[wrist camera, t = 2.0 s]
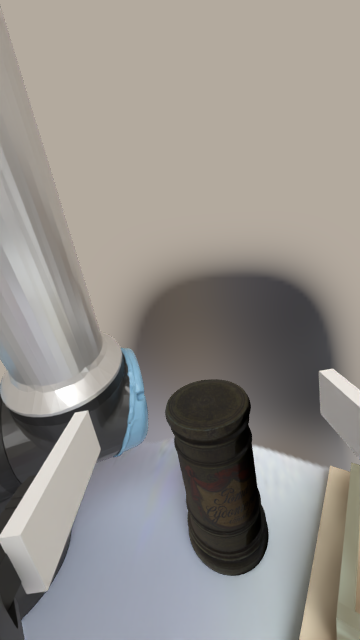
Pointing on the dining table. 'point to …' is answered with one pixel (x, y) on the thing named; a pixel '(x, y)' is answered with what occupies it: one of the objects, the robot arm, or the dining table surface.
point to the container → (219, 475)
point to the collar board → (336, 563)
